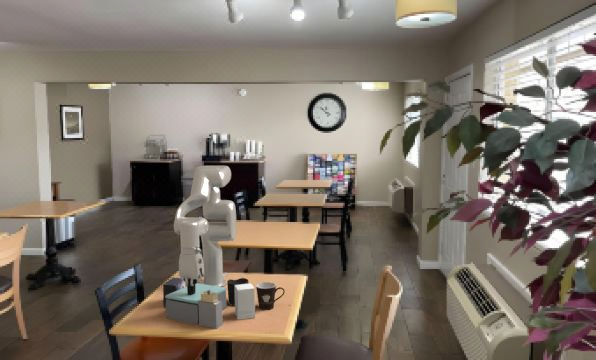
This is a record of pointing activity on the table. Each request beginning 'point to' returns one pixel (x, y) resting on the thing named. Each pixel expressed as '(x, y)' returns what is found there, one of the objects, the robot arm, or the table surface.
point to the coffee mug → (267, 295)
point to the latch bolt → (209, 296)
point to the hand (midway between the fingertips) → (191, 294)
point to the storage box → (197, 311)
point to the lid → (200, 288)
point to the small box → (172, 287)
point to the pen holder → (231, 288)
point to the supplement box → (244, 301)
